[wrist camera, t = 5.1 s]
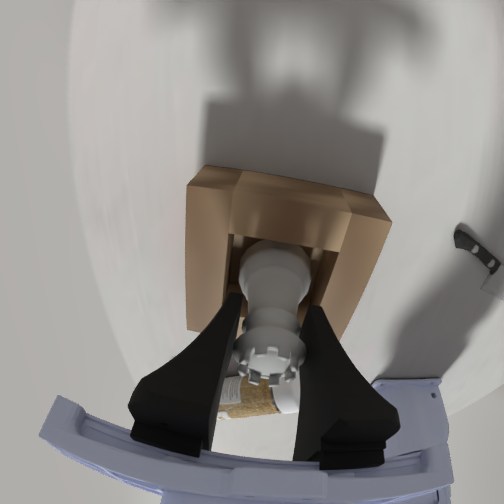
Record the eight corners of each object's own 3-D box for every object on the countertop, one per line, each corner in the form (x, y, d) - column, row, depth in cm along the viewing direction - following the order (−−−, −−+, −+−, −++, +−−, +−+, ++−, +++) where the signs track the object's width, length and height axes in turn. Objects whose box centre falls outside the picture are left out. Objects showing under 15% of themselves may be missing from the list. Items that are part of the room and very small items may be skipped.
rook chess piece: (325, 265, 18) (344, 369, 11) (276, 304, 19) (269, 407, 13) (273, 219, 16) (264, 316, 9) (225, 266, 18) (193, 366, 11)
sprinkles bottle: (182, 429, 25) (305, 420, 21) (162, 396, 25) (288, 381, 21) (200, 405, 30) (311, 391, 25) (183, 375, 29) (297, 354, 25)
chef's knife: (520, 316, 20) (537, 298, 19) (524, 323, 19) (541, 305, 18) (432, 254, 18) (456, 223, 16) (437, 264, 17) (463, 232, 15)
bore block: (373, 195, 16) (392, 222, 13) (328, 316, 21) (333, 352, 18) (205, 165, 16) (186, 185, 13) (199, 295, 21) (186, 329, 18)
